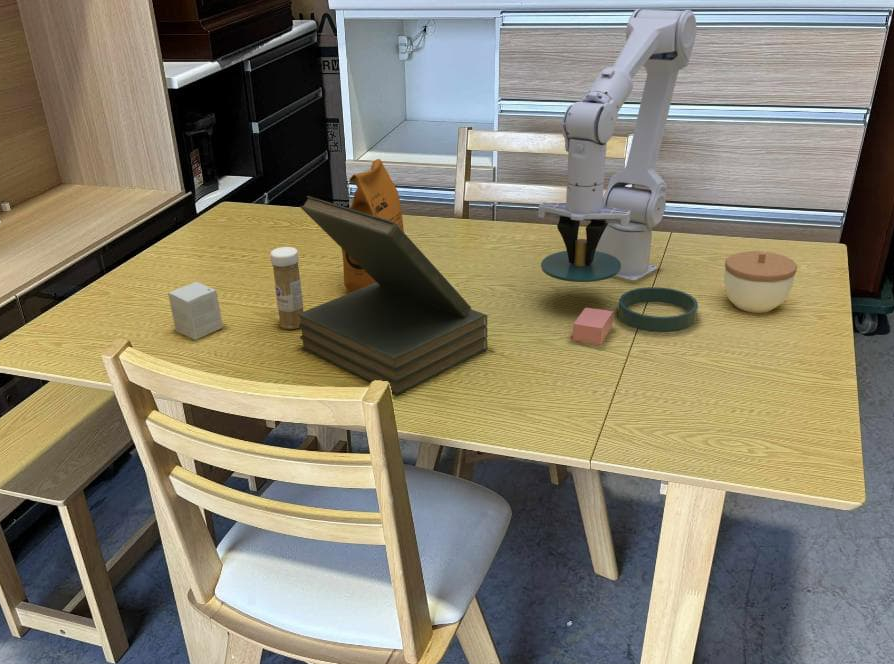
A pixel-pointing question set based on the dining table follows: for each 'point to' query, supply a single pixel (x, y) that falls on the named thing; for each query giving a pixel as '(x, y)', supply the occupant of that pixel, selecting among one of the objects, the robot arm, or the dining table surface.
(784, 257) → the trinket box
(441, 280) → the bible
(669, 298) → the tin
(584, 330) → the soap
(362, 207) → the coffee package
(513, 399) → the dining table surface
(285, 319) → the sprinkles bottle
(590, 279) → the lid
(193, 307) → the product box
